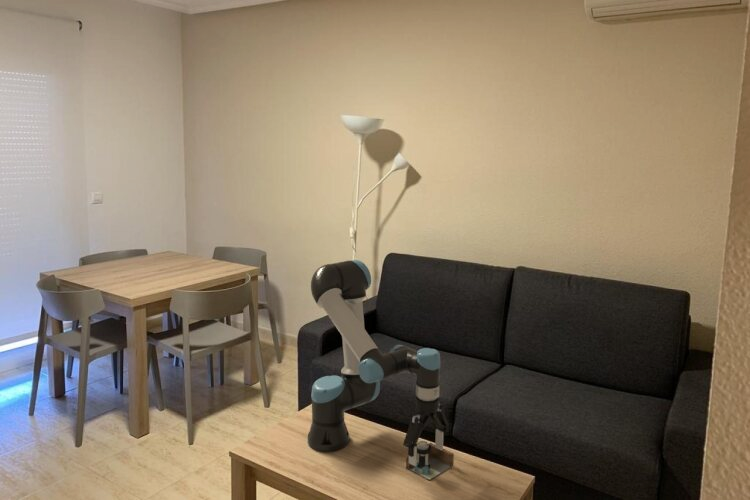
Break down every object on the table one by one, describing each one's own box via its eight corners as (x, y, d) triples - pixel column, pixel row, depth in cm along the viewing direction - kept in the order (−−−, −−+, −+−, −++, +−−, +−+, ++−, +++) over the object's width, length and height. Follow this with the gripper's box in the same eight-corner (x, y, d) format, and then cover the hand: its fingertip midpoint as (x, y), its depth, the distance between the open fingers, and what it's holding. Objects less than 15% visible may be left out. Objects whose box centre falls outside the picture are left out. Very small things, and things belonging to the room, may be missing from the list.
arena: (406, 468, 200) (406, 456, 199) (430, 454, 209) (430, 442, 208) (429, 480, 193) (429, 468, 192) (453, 465, 202) (453, 453, 201)
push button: (436, 470, 198) (437, 443, 196) (430, 478, 193) (430, 450, 191) (418, 465, 201) (418, 438, 199) (411, 473, 197) (412, 445, 195)
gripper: (410, 412, 181) (409, 475, 185) (460, 388, 198) (458, 446, 203) (392, 404, 186) (391, 466, 191) (442, 381, 204) (440, 438, 208)
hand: (426, 456), depth 197 cm, fingers open, 13 cm apart
